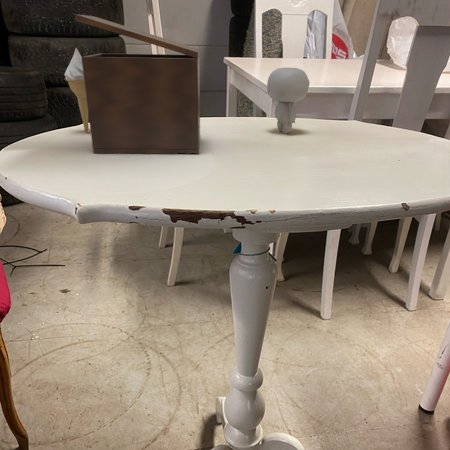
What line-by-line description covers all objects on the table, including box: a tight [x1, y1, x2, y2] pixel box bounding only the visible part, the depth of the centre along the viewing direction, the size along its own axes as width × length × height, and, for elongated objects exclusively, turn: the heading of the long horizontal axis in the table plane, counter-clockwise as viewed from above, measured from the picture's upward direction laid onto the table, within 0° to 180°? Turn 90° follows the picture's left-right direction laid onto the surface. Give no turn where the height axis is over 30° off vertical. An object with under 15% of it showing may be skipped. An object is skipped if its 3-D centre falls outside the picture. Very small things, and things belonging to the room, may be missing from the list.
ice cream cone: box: [63, 47, 90, 133], centre depth 90 cm, size 6×6×15 cm
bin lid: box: [74, 13, 201, 58], centre depth 75 cm, size 18×13×1 cm
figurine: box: [266, 67, 310, 134], centre depth 94 cm, size 8×8×12 cm
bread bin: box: [82, 53, 201, 155], centre depth 80 cm, size 18×13×14 cm
